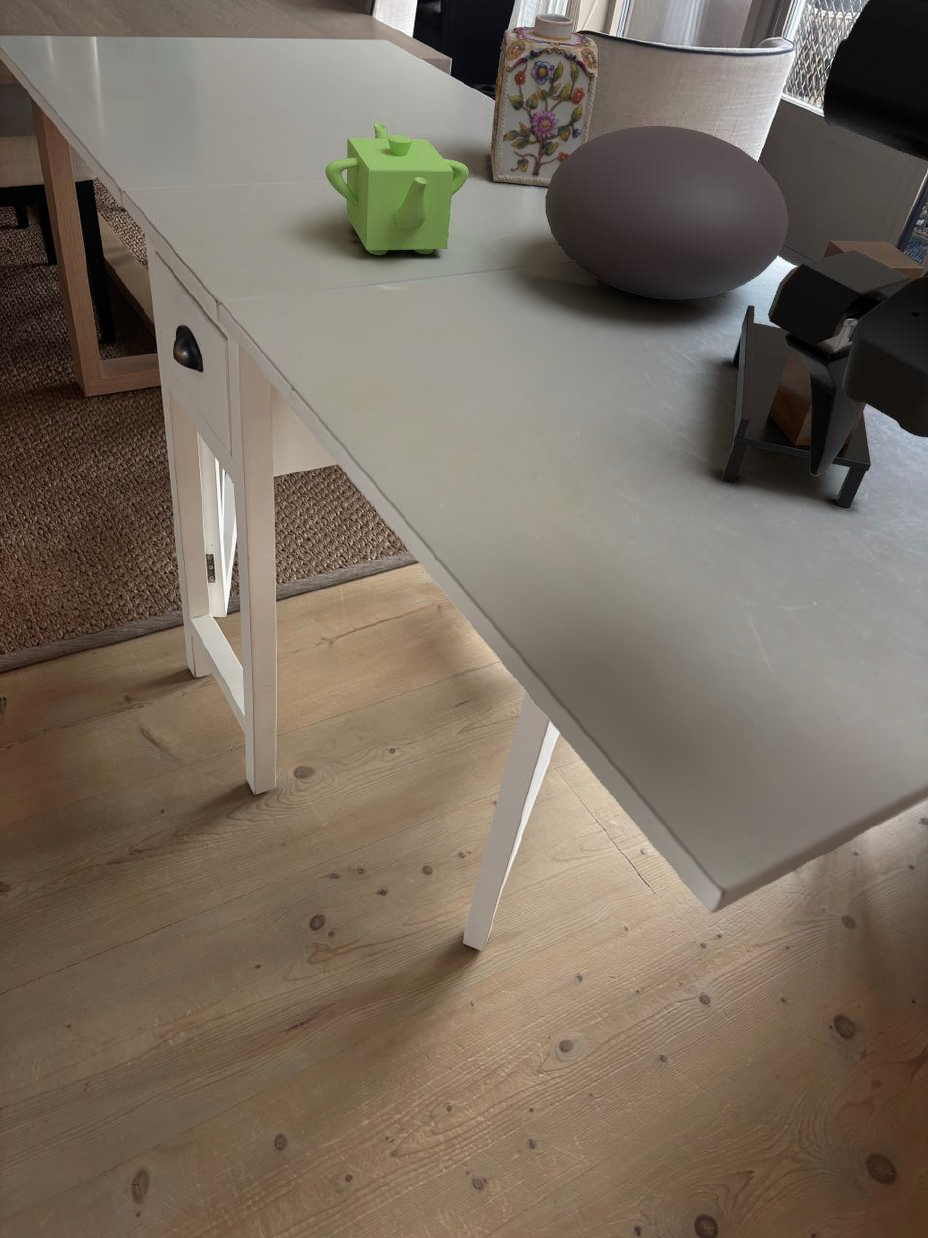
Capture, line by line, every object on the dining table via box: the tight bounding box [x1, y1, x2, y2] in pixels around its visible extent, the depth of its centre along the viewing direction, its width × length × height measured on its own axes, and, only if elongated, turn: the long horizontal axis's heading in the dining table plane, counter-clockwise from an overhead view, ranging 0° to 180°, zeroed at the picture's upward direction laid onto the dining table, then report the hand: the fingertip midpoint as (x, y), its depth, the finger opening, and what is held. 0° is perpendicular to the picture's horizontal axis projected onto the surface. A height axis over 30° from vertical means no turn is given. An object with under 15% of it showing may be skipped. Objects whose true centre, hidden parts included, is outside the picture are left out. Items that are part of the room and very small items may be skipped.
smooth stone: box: [544, 125, 789, 301], centre depth 97 cm, size 25×25×15 cm
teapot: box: [324, 122, 470, 256], centre depth 100 cm, size 15×13×11 cm
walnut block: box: [769, 240, 925, 446], centre depth 68 cm, size 5×5×14 cm
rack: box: [722, 304, 872, 508], centre depth 79 cm, size 10×22×6 cm, turn 166°
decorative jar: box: [490, 13, 600, 188], centre depth 121 cm, size 12×12×18 cm
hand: (889, 520), depth 48 cm, fingers open, 9 cm apart
